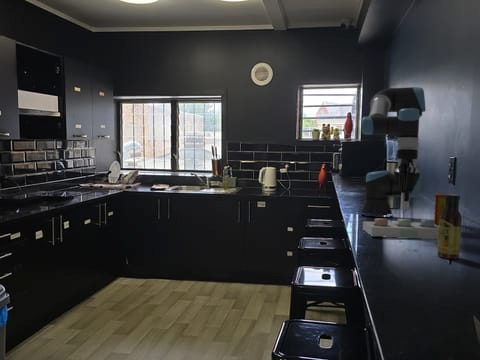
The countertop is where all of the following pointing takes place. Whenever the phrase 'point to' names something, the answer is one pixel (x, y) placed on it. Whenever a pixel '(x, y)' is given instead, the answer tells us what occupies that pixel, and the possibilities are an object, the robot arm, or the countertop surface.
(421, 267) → the countertop surface
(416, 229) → the button console
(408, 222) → the sage button
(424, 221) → the slate button
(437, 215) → the baking soda box
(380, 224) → the terracotta button
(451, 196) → the sauce bottle
